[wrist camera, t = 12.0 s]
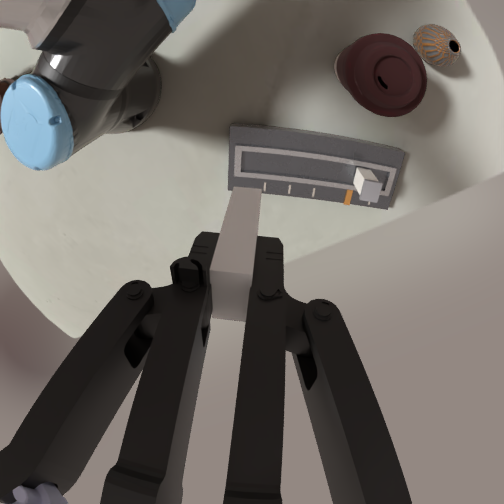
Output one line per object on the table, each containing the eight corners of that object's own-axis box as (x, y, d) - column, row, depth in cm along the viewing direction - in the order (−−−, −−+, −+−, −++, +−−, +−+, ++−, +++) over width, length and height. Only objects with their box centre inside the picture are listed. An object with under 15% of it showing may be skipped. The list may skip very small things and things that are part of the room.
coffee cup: (382, 39, 29) (429, 37, 18) (389, 98, 35) (435, 121, 24) (319, 40, 31) (341, 31, 20) (329, 101, 37) (354, 122, 26)
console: (229, 185, 48) (227, 192, 46) (231, 123, 41) (229, 127, 39) (384, 204, 47) (388, 212, 45) (400, 148, 40) (406, 154, 38)
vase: (446, 64, 29) (476, 70, 22) (412, 65, 31) (440, 69, 24) (437, 26, 25) (466, 25, 18) (402, 25, 27) (428, 21, 20)
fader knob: (351, 183, 43) (360, 200, 39) (356, 165, 41) (365, 180, 37) (367, 186, 43) (377, 202, 39) (372, 168, 41) (382, 183, 37)
